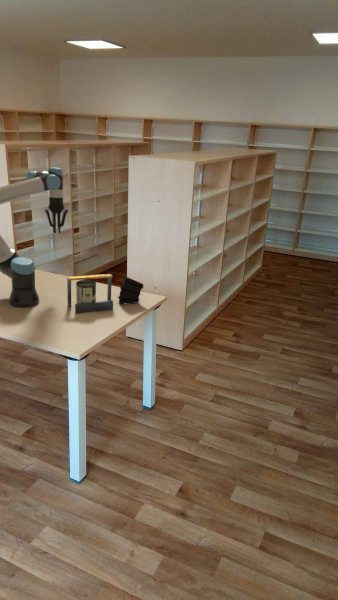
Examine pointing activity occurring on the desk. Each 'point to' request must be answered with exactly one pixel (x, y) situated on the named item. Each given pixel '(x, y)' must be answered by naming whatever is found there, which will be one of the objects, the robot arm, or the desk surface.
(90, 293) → the coffee can
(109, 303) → the retention bracket
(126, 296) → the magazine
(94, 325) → the desk surface
